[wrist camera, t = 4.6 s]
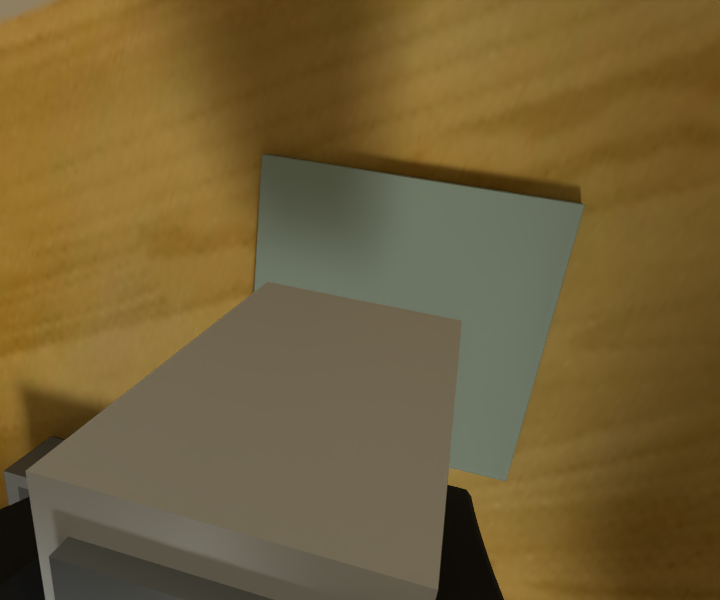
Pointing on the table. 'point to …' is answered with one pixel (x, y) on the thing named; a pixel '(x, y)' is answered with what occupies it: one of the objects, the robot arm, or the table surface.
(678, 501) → the table surface
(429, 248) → the rubber mat
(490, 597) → the robot arm
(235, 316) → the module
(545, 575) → the table surface
